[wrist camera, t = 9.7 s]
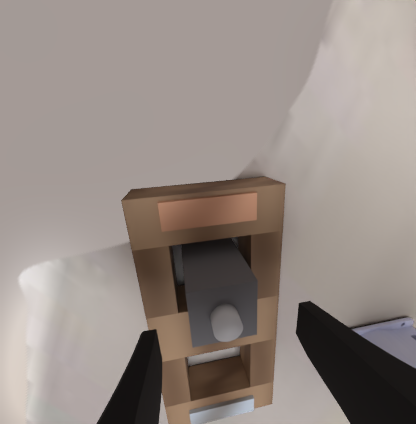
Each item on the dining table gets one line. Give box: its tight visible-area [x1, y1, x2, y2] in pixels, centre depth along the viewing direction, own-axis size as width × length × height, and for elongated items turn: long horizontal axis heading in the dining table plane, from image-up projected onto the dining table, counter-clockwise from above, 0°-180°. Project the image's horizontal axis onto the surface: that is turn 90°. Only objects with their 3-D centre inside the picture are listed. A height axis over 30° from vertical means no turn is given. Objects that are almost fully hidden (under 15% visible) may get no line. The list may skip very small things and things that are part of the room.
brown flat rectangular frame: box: [121, 177, 285, 424], centre depth 17 cm, size 10×22×3 cm, turn 4°
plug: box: [181, 238, 258, 348], centre depth 14 cm, size 4×4×7 cm
